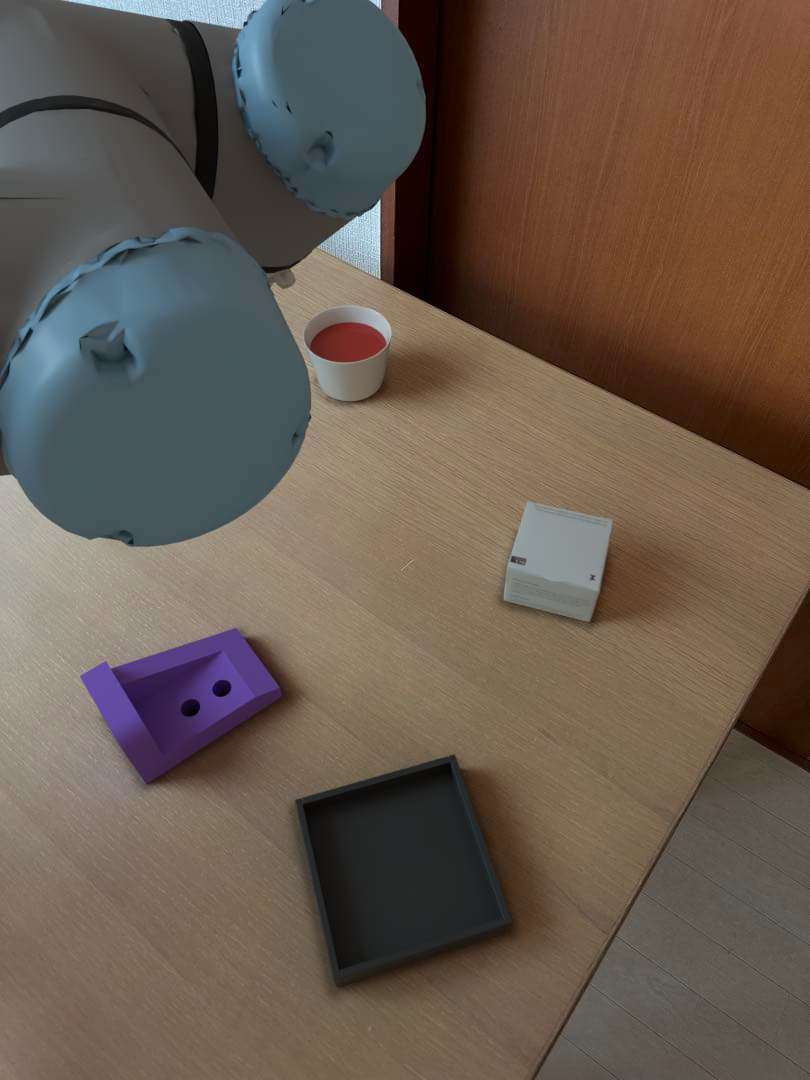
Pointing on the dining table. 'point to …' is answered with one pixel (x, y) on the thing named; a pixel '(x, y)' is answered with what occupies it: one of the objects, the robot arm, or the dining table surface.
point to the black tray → (399, 869)
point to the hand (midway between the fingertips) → (133, 332)
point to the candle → (348, 350)
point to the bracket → (180, 699)
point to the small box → (558, 561)
